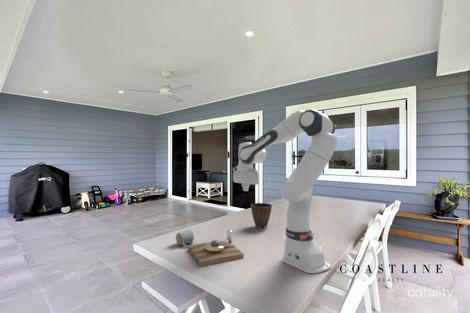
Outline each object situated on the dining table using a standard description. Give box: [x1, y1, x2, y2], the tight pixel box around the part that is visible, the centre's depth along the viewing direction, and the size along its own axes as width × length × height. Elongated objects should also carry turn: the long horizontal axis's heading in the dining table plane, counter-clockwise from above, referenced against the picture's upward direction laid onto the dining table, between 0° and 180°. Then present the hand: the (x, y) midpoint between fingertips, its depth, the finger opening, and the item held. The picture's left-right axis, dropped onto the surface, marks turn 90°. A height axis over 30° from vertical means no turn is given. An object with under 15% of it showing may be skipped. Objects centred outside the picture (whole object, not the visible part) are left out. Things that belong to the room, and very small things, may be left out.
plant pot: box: [250, 202, 273, 229], centre depth 162 cm, size 15×15×16 cm
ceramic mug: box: [175, 228, 195, 248], centre depth 129 cm, size 11×8×8 cm
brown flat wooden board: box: [188, 241, 245, 267], centre depth 116 cm, size 22×22×2 cm
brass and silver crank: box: [205, 229, 233, 253], centre depth 118 cm, size 10×16×8 cm, turn 123°
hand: (245, 190), depth 139 cm, fingers closed
